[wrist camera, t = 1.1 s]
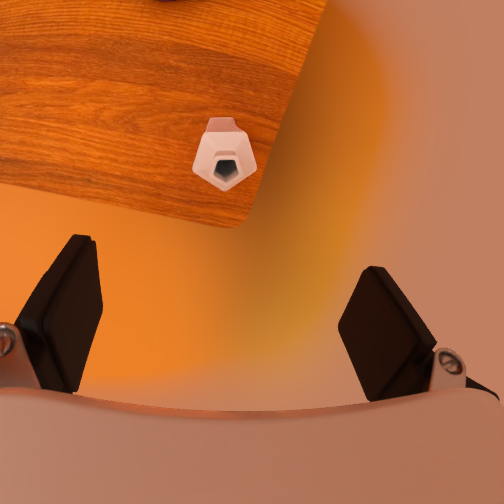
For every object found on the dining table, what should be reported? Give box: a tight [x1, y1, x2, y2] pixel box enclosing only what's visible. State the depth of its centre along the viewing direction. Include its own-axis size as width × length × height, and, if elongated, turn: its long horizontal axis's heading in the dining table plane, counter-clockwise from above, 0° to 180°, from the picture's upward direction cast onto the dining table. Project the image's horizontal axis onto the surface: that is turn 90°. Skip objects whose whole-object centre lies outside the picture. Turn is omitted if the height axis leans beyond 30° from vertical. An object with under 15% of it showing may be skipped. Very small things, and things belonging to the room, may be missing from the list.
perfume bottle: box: [192, 117, 257, 191], centre depth 25 cm, size 5×4×15 cm
